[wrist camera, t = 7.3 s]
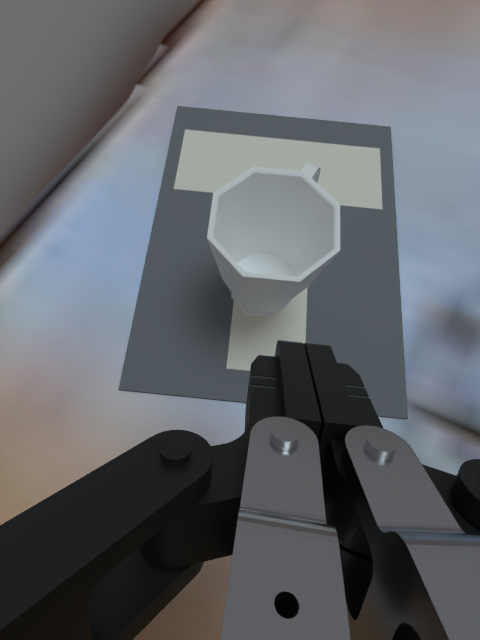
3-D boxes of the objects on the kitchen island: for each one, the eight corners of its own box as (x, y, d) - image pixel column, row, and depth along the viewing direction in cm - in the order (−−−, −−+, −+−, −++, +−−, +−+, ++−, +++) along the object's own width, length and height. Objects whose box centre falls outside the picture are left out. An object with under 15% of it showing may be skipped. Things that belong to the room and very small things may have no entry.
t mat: (406, 419, 24) (407, 418, 24) (119, 390, 24) (118, 389, 24) (389, 128, 32) (390, 126, 32) (177, 108, 32) (177, 105, 32)
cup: (192, 308, 26) (177, 244, 18) (258, 201, 29) (269, 108, 22) (285, 356, 25) (311, 308, 17) (343, 239, 28) (386, 157, 21)
